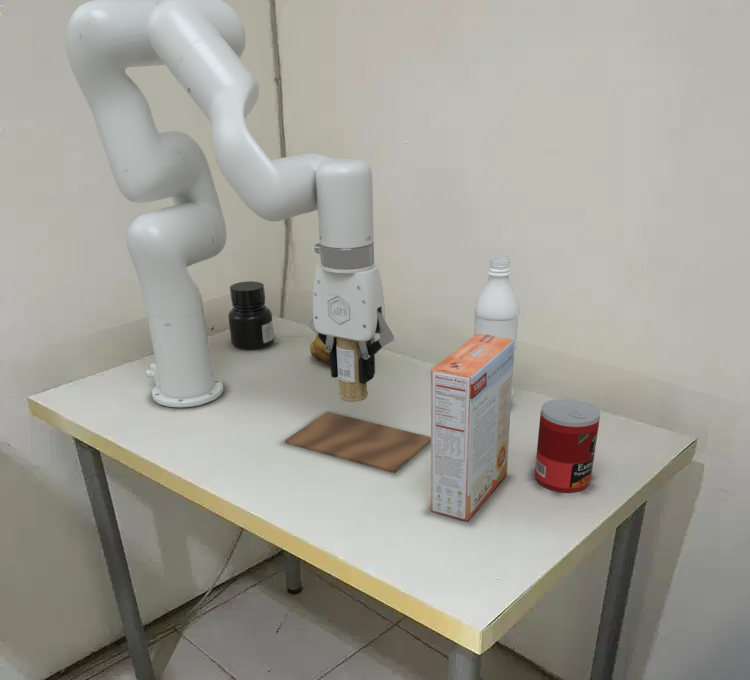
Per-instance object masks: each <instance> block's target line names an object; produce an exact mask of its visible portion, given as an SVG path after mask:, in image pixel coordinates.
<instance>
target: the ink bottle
mask: <svg viewBox="0 0 750 680" xmlns="http://www.w3.org/2000/svg"><path fill="white" fill-rule="evenodd" d="M229 292H230V293H229V294H230V301H231V305H232V306H233V307H232V308H231V310H230V311H229V312H228V315H227V317H228V325H229V332H230V333H229V334H230V341H231V345H232V346H233V347H234V348H236V349H239V350H246V351H247V350H248V351H249V350H251V351H252V350H258V349H265V348H268V347H270V346H271V345H272V344H273V343H274V342H275V341H274V340H275V335H274V323H273V313H272V310H271V309H270V308H269V307H268V306H267V305H265V304H266V291H265V284H264V283H263V282H260V281H247V280H246V281H239V282H236V283H233V284H231V285H230V286H229Z"/></svg>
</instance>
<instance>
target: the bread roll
mask: <svg viewBox="0 0 750 680" xmlns="http://www.w3.org/2000/svg"><path fill="white" fill-rule="evenodd" d="M368 347H369V346H368ZM309 352H310V354H311V356H312V357H313V359H315V360H317V361H318V362H322V363H324V364H326V365H328V366H329V367H330V357H329V352H327V351H326V349H325V345H324V343H323V342H322V341H321V339H320V338H319V336H318V335H317V334H316V336H315V338H314V340H313V341H312V342H311V343H310V348H309Z"/></svg>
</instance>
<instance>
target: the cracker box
mask: <svg viewBox="0 0 750 680" xmlns="http://www.w3.org/2000/svg"><path fill="white" fill-rule="evenodd" d="M514 346H515V340H514V339H508V338H501V337H494V336H490V335H484V334H476V335H475V336H474V335H473V336H472V337H471V338H470V339H468V340H467V341H466V342H465V343H463V344H462V345H460V347H458V348H457V349H455V350H454V351H453V352H452V353H450V354H449V355H448V356H446V357H445V358H444V359H442V360H441V361H440V362H438V363H437V364H436V365H435V366H433V367H432V368H431V369H430V437H431V442H430V511H431V512H432V513H436V514H440V515H443V516H447V517H450V518H454V519H458V520H461V521H465V522H469V520H470V519H471V518H472V517H473V516H474V515H475V513H476V512H477V511H478V510H479V508H481V506H482V505H483V504H484V502H485V501H486V500H487V499H488V498H489V497H490V496H491V494H492V493H493V492H494V491H495V490H496V488H497V487H498V486H499V484H500V483H501V482H502V481H503V480H504V479H505V477H506V476H507V473H508V458H509V442H510V425H511V409H512V400H511V395H512V386H513V379H514V378H513V377H514V362H515V361H514V360H515V351H514Z"/></svg>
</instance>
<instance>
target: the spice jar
mask: <svg viewBox="0 0 750 680" xmlns="http://www.w3.org/2000/svg"><path fill="white" fill-rule="evenodd" d="M336 339H337V345H336V347H337V365H338V377H337V378H338V388H339V391H338V397H339V399H341V400H342V401H344V402H349V403H356V402H361V401H363V400H365V399H367V398H368V395H369V393H368V392H369V391H368V386H367V385H368V384H367V383H368V382H367V383H365V384H361V383H360V382H359V359H360V358H361V357H362V355H361V351H360V346H359V342H358V341H354V340H349V339H343V338H338V337H336Z"/></svg>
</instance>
